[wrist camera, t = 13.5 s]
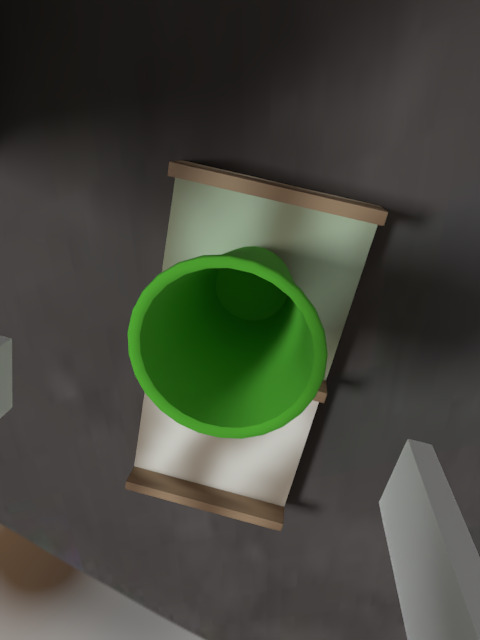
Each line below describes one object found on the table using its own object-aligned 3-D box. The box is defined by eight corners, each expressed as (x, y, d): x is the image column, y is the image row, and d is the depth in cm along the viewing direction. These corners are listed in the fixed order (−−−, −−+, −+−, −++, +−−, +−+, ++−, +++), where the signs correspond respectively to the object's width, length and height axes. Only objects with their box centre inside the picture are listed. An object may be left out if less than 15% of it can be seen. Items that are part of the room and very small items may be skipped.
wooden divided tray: (138, 464, 38) (125, 488, 35) (182, 160, 28) (169, 161, 25) (282, 503, 38) (280, 531, 35) (380, 205, 28) (388, 212, 25)
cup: (335, 328, 30) (348, 422, 20) (211, 355, 32) (166, 453, 22) (301, 197, 27) (297, 229, 17) (168, 237, 29) (94, 287, 19)
